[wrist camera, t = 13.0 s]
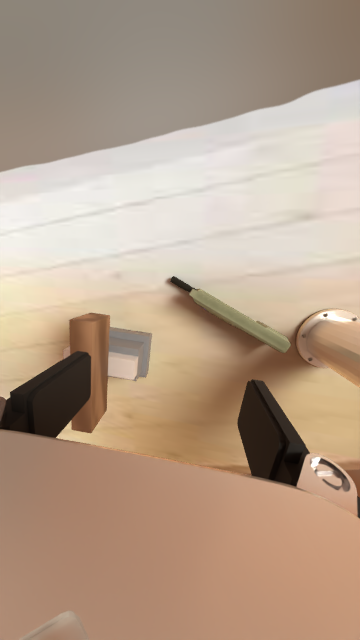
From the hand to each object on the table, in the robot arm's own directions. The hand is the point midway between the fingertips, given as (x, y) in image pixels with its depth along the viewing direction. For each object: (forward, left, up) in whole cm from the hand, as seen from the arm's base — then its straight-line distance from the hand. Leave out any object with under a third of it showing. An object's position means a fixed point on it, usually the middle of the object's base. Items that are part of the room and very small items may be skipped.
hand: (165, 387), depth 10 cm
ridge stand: (+15, +12, -28) cm, 34 cm away
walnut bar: (+15, +12, -20) cm, 28 cm away
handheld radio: (-8, -1, -29) cm, 30 cm away
